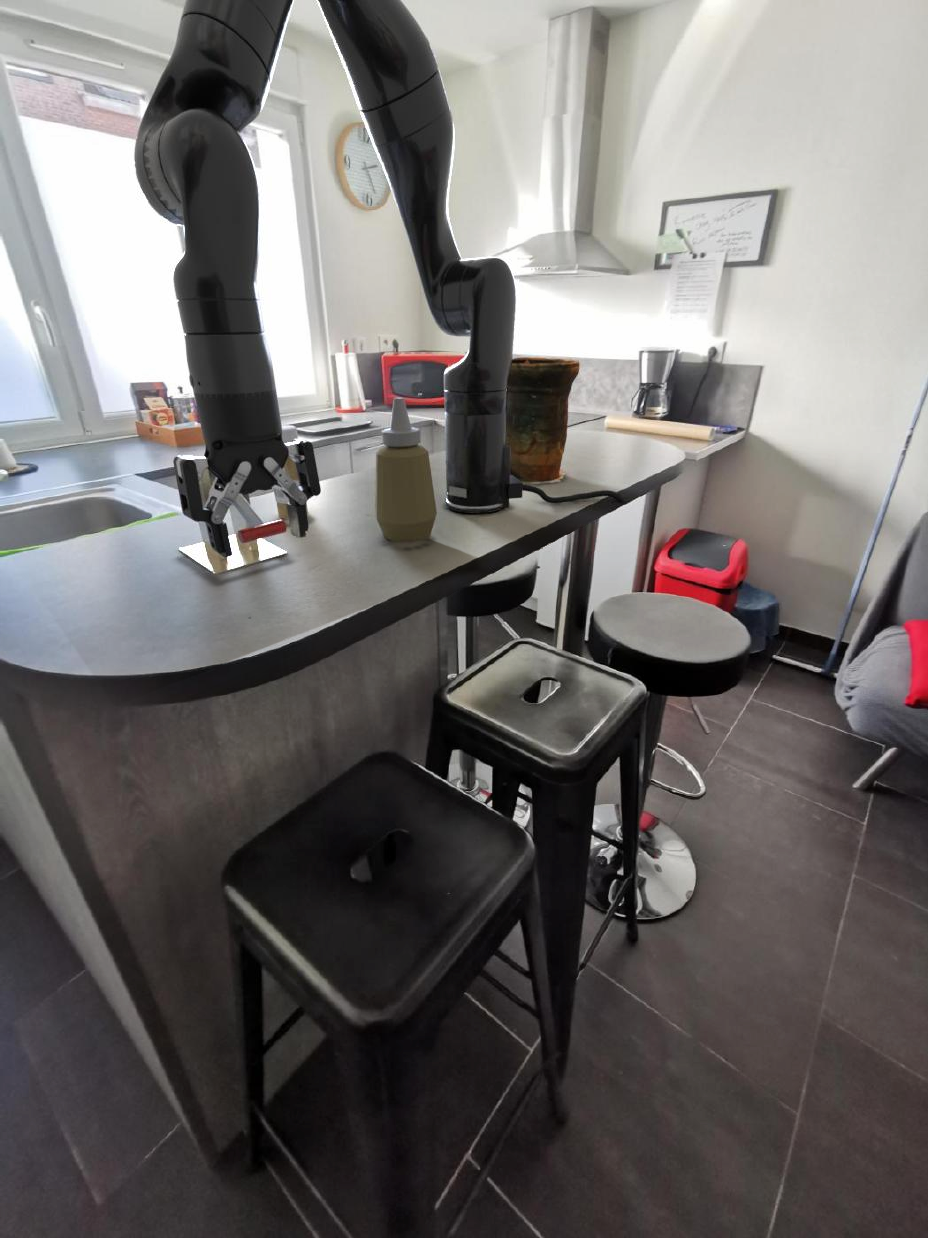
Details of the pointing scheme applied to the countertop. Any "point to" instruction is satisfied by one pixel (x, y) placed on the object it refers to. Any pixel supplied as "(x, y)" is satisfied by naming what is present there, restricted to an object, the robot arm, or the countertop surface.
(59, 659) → the countertop surface
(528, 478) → the vessel
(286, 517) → the sprinkles bottle
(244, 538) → the lever
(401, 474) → the squeeze bottle
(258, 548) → the metal stand
